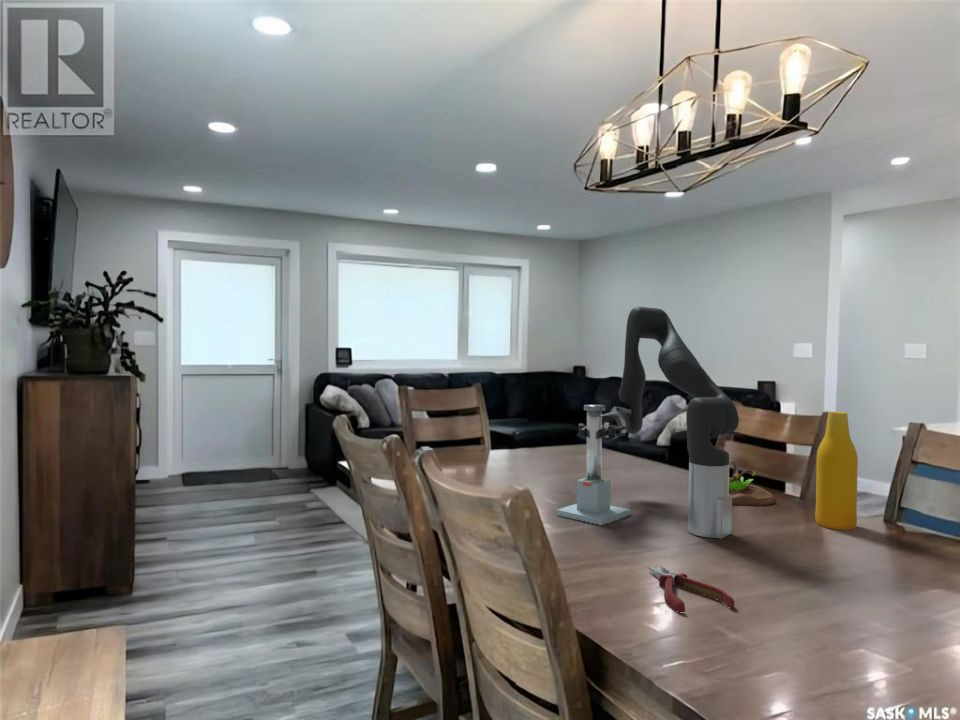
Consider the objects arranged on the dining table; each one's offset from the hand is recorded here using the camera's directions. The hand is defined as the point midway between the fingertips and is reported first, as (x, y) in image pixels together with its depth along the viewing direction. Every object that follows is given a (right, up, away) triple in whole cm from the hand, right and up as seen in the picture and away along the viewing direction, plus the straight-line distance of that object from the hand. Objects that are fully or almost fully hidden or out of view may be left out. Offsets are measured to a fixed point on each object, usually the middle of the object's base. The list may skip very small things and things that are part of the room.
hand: (591, 433), depth 167 cm
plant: (+48, -23, +24) cm, 58 cm away
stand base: (+1, -22, +3) cm, 23 cm away
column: (+1, -14, +3) cm, 14 cm away
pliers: (+10, -25, -49) cm, 55 cm away
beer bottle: (+62, -23, -5) cm, 66 cm away
